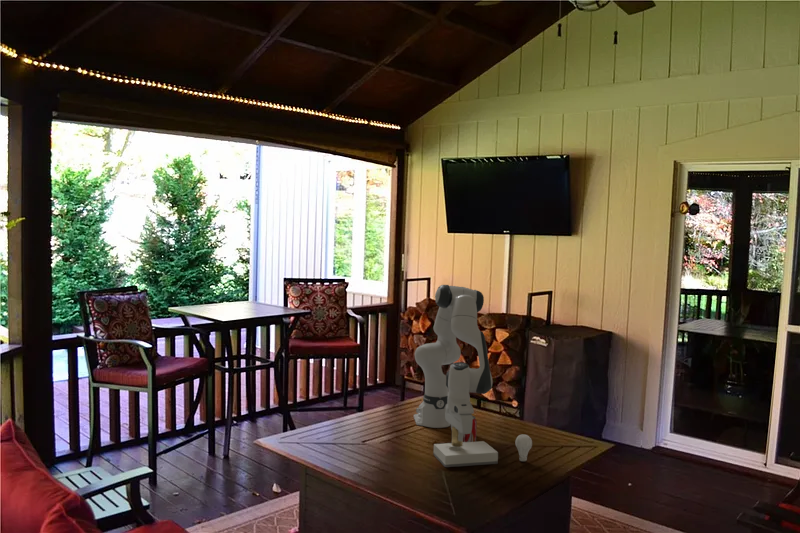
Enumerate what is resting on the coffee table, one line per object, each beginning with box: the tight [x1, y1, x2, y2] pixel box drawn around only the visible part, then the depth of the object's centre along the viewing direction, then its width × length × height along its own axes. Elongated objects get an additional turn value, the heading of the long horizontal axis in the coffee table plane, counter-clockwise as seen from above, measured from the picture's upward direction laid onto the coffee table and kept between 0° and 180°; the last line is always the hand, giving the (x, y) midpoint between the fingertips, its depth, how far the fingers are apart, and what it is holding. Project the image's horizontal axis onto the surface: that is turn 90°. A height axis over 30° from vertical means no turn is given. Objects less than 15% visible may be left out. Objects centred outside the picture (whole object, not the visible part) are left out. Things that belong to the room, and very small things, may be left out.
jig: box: [432, 440, 499, 468], centre depth 252 cm, size 14×22×4 cm, turn 106°
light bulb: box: [514, 434, 533, 463], centre depth 252 cm, size 7×7×11 cm
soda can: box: [463, 415, 478, 442], centre depth 271 cm, size 7×7×12 cm
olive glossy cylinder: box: [451, 427, 463, 447], centre depth 251 cm, size 4×4×7 cm
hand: (457, 438), depth 251 cm, fingers closed on olive glossy cylinder, 4 cm apart
